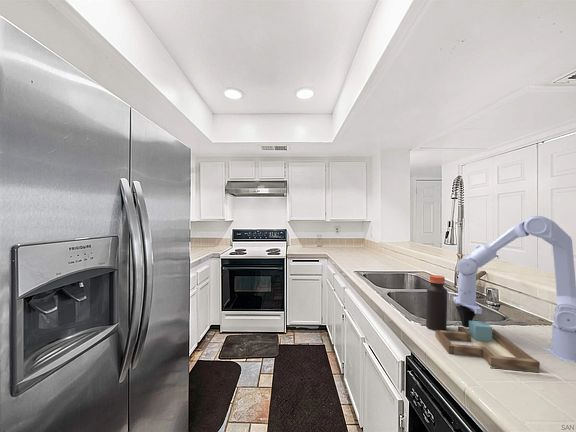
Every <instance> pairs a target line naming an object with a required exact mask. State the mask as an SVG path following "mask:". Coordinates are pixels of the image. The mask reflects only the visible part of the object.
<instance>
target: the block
mask: <svg viewBox="0 0 576 432" xmlns="http://www.w3.org/2000/svg"><path fill="white" fill-rule="evenodd" d="M492 329H493V327H492V326H491V325H490V324H488V323H487V322H485V321H480V320H479V321H478V320H472V321H469V327H468V332H469V333H470V334H471V337H472V338H473V339H474V340H475V341H484V342H492Z"/></svg>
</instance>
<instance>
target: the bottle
mask: <svg viewBox="0 0 576 432" xmlns="http://www.w3.org/2000/svg"><path fill="white" fill-rule="evenodd" d="M445 281H446V278H445V276H443V275H437V274H430V275H429V283H430V285H429V286H428V287H427V288H426V308H425V309H426V314H425V315H426V317H425V318H426V321H425V322H426V323H425V327H426V328H427V329H428V330H430V331H434V332H435V330H443V331H447V327H448V326H447V323H448V316H447V315H448V313H447V312H448V290H447V288H445V286H444V285H445Z"/></svg>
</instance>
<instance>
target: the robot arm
mask: <svg viewBox="0 0 576 432" xmlns="http://www.w3.org/2000/svg"><path fill="white" fill-rule="evenodd" d="M528 236H533V237H536V238H539V239H541V240H543V241H545V242H546V243H548V244H549V245H551V246H552V255H553V265H554V266H553V267H554V278H555V290H556V291H555V292H556V306H555V309H554V315H553V322H552V323H551V347H549V348H548V347H544V348H543V349H544V350H545V351H548V352H549V353H551V354H552V355H553V356H555V357H557V359H560V360H561V361H564V362H565V361H566V362H574V363H576V274H575V273H576V271H575V260H574V247H573V239H572V237H571V236H570V235H569V234H568V233H567V232H566V231H565V230H563V228H561V227H560V226H559V224H557V222H555V221H554V220H552V219H549V218H548V217H546V216H542V215H534V216H530V217H528V218H527V219H526V220H524V221H521V222H519V223H517V224H516V225H514V226H512V227H510V228H509V229H507V231H506V232H504V233H502V235H500V236H499V237H498V238H496V239H495V240H494V241H492V242H491V243H489V244H481V245H476V246H475V248H476V249H475V250H473V251H471V252H470V253H467V254H466V255H464V257H465V258H461V259H459V261H458V262H457V263H456V269H457V271H458V279H457V280H458V281H457V296H453V297H452V298H453V302H454V304H456V306H455V308H456V310H457V312H458V315H459V318H460V322H461V325H462V326H461V327H464V328H469V321H474V320H473V319H474V318H475V316H476V315H482V314H483V309H482V307H480V306H479V305H478V303H476V302H477V271H478V270H479V268H482V267H483V266H485V265H487V264H488V263H489V262H491V261H493V260H494V259H495V258H497V252H499V250H501V249H503V248H504V247H506V246H507V245H509V244H511V243H512V242H514V241H515V240H516V239H518V238H524V237H528Z"/></svg>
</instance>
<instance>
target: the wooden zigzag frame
mask: <svg viewBox="0 0 576 432" xmlns="http://www.w3.org/2000/svg"><path fill="white" fill-rule="evenodd" d="M434 332H435V333H434V335H435V339H436V340H437V341H438V342H439V343H440V345H441V346H442V347H443V349H444V350H445V351H446V352H447V354H449V355H458V356H469V357H479V358H480V357H481V358H482V359H484V360H485V361H486V362H487V364H488V365H489V366H490V369H494V370H502V371H512V372H513V371H514V372H523V373H533V374H540V365H541V364H540V361H538V360H537V359H535V358H534V357H532V356H531V355H529V354H528V353H527V352H525V351H524V350H523V349H521V348H520V347H519V346H517V345H516V344H515V343H513V342H512V341H510V340H509V339H508V338H506V336H504V335H502V334H501V333H499V332H498V331H497V330H495V329H494V328H492V342H484V341H475V340H474V339H473V338H472V337H471V334H470V333H469V330H467V328H466V327H463V326H458V330H457V331H451V330H446V331H443V330H435V331H434ZM451 341H460V342H470V343H472V344H473V345H467V344H458V343H457V344H455V343H452V342H451Z"/></svg>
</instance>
